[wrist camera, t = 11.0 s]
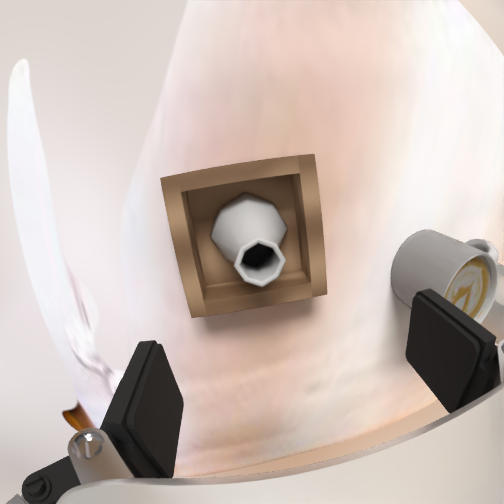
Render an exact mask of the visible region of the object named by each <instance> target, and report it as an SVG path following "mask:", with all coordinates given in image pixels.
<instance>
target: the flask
mask: <svg viewBox="0 0 504 504" xmlns="http://www.w3.org/2000/svg"><path fill="white" fill-rule="evenodd" d="M287 228H288V226H287V224H286V223H285V221H284V219H283V218H282V216H281V214H280V213H279V211H278V209H277V208H276V206H275V205H274V203H273V202H271V201H269V200H266V199H264V198H261V197H258V196H256V195H253V194H250V193H248V192H243V193H242V194H240V195H239V196H237V197H235V198H234V199H232V200H231V201H229V202H228V203H226V204H224V205H223V206H221V207H220V208H219V210H218V213H217V215H216V218H215V221H214V224H213V226H212V229H211V232H210V235H209V236H210V237H211V239H212V240H213V242H214V243H215V245H216V246H217V248H218V249H219V251H220V252H221V253H222V255H223V256H224V258H225V259H226V260H229V261H232V262H235V263H234V267H235V268H236V270H237V271H238V273H239V274H240V275H241V277H242V278H243V280H244V281H245V282H248V283H251V284H254V285H257V286H260V287H263V286H265V285H267V284H268V283H270V282H272V281H273V280H275V279H277V278H278V277H279V275H280V273H281V271H282V268H283V266H284V264H285V261H286V259H285V257H284V256H283V254H282V252H281V251H280V249H279V247H280V245H281V242H282V240H283V238H284V235H285V233H286V230H287Z"/></svg>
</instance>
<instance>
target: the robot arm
mask: <svg viewBox="0 0 504 504" xmlns="http://www.w3.org/2000/svg"><path fill="white" fill-rule="evenodd" d="M496 264H497V268H498V275H499V278H498V287H497V293H496V296H495V299H494V302H493V304H492V306H491V308H490V310H489V312H488V314H487V316H486V317H485V319H484V320H483V322H482V323H481V324H479V323H478V322H477V321H475V320H474V319H473V318H471V317H470V316H469V315H467V314H466V313H465V312H463V311H462V310H460V309H459V308H458V307H456V306H455V305H454V304H452V303H451V302H449V301H448V300H447V299H445V298H444V297H442V296H441V295H440V294H438V293H437V292H435V291H434V290H432V289H431V288H428V289H425V290H421V291H418V292H417V293H416V295H415V296H414V297H413V300H412V309H411V318H410V326H409V334H408V341H407V347H406V359H407V361H408V362H409V363H410V365H411V366H412V367H413V368H414V369H415V371H416V372H417V373H418V374H419V376H420V377H421V378H422V379H423V381H424V382H425V383H426V384H427V386H428V387H429V388H430V389H431V391H432V392H433V393H434V394H435V396H436V397H437V398H438V400H439V401H440V402H441V403H442V405H443V406H444V407H445V409H446V410H447V411H448V412H449V413H450V414H449V415H447V416H445V417H443V418H441V419H439V420H437V421H435V422H433V423H431V424H428V425H426V426H424V427H422V428H420V429H417V430H415V431H413V432H410V433H408V434H406V435H403V436H401V437H398V438H396V439H393V440H391V441H388V442H385V443H382V444H379V445H377V446H374V447H371V448H368V449H365V450H362V451H359V452H356V453H352V454H349V455H345V456H342V457H338V458H334V459H331V460H327V461H323V462H318V463H314V464H310V465H305V466H300V467H295V468H290V469H284V470H279V471H272V472H265V473H258V474H250V475H240V476H228V477H213V478H189V479H188V478H186V479H185V478H180V479H179V478H175V479H174V478H172V477H173V475H174V467H175V460H176V453H177V446H178V439H179V432H180V426H181V419H182V413H183V407H184V402H183V398H182V395H181V393H180V390H179V388H178V385H177V383H176V380H175V378H174V375H173V373H172V370H171V368H170V365H169V362H168V360H167V357H166V354H165V351H164V349H163V346H162V345H161V344H157V342H156V341H155V340H152V341H141V342H139V343H138V345H137V347H136V350H135V352H134V354H133V356H132V358H131V360H130V362H129V365H128V367H127V369H126V371H125V373H124V376H123V378H122V379H121V381H120V383H119V385H118V387H117V390H116V392H115V394H114V396H113V399H112V401H111V403H110V406H109V408H108V410H107V413H106V415H105V417H104V420H103V422H102V425H101V427H100V429H97V428H87V429H84V430H81V431H79V432H78V433H76V434H75V435H74V436H73V437H72V438H71V440H70V441H69V444H68V453H69V456H67V457H65V458H63V459H61V460H59V461H57V462H55V463H53V464H51V465H49V466H47V467H45V468H43V469H41V470H38V471H36V472H34V473H32V474H31V475H29V476H28V477H27V478H26V479H25V480H24V482H23V485H22V496H20V495H18V494H16V495H15V496H14V497H13V498H12V499H11V500H10V501H8V502H7V503H6V504H504V266H503V265H502V264H500V263H496ZM495 342H496V343H497V344H498V347H497V346H496V345H495Z"/></svg>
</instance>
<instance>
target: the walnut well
mask: <svg viewBox="0 0 504 504" xmlns="http://www.w3.org/2000/svg"><path fill="white" fill-rule="evenodd" d="M160 179H161V185H162V190H163V196H164V201H165V206H166V211H167V216H168V221H169V226H170V231H171V235H172V240H173V245H174V249H175V253H176V258H177V262H178V266H179V270H180V275H181V279H182V283H183V287H184V291H185V295H186V298H187V302H188V306H189V310H190V313H191V317H192V318H196V317H203V316H210V315H216V314H223V313H229V312H235V311H241V310H247V309H253V308H259V307H264V306H270V305H275V304H281V303H286V302H291V301H297V300H302V299H307V298H312V297H317V296H321V295H326V294H327V279H326V262H325V249H324V236H323V225H322V214H321V204H320V195H319V186H318V178H317V170H316V162H315V155H314V154H308V155H298V156H289V157H281V158H273V159H265V160H258V161H251V162H244V163H237V164H231V165H225V166H219V167H213V168H208V169H202V170H197V171H192V172H187V173H182V174H177V175H172V176H167V177H163V178H160ZM243 192H248V193H250V194H253V195H256V196H258V197H261V198H264V199H266V200H269V201H271V202H273V203H274V205H275V206H276V208H277V209H278V211H279V213H280V214H281V216H282V218H283V219H284V221H285V223H286V224H287V226H288V228H287V230H286V233H285V235H284V238H283V240H282V242H281V245H280V247H279V249H280V251H281V252H282V254H283V256H284V257H285V259H286V261H285V264H284V266H283V268H282V271H281V273H280V275H279V277H278V278H277V279H275V280H273V281H272V282H270V283H268V284H267V285H265V286H263V287H260V286H257V285H254V284H251V283H248V282H245V281H244V280H243V278H242V277H241V275H240V274H239V273H238V271H237V270H236V268H235V267H234V263H235V262H232V261H229V260H226V259H225V258H224V256H223V255H222V253H221V252H220V251H219V249H218V248H217V246H216V245H215V243H214V242H213V240H212V239H211V237H210V236H209V235H210V232H211V229H212V226H213V224H214V221H215V218H216V215H217V213H218V210H219V208H220V207H221V206H223V205H224V204H226V203H228V202H229V201H231V200H232V199H234V198H235V197H237V196H239V195H240V194H242V193H243Z"/></svg>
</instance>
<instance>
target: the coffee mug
mask: <svg viewBox="0 0 504 504" xmlns="http://www.w3.org/2000/svg"><path fill="white" fill-rule="evenodd" d="M497 261H498V250H497V248H496V247H495V245H494V244H492V243H491V242H489V241H486V240H482V239H473V240H470V241H467V242H466V243H463V242H460V241H458V240H456V239H453V238H451V237H448V236H446V235H443V234H441V233H438V232H435V231H433V230H422V231H418V232H416V233H414V234H413V235H411V236H410V237H409V238H408V239H406V241H405V242H404V243H403V244H402V245H401V247H400V248H399V250H398V252H397V254H396V256H395V258H394V261H393V265H392V269H391V284H392V288H393V291H394V293H395V294H396V296H397V297H398V298H399V299H400V300H401V301H402V302H404V303H405V304H406V305H407V306H408V307H410V308H411V309H412V300H413V297H414V296H415V295H416V293H417V292H418V291H421V290H425V289H428V288H431V289H432V290H434V291H435V292H437V293H438V294H440V295H441V296H442V297H444V298H445V299H447V300H448V301H449V302H451V303H452V304H454V305H455V306H456V307H458V308H459V309H460V310H462V311H463V312H465V313H466V314H467V315H469V316H470V317H471V318H473V319H474V320H475V321H477V322H478V323H479V324H481V323H482V322H483V320H484V319H485V317H486V316H487V314H488V312H489V310H490V308H491V306H492V304H493V302H494V299H495V296H496V293H497V287H498V278H499V275H498V268H497V264H496V263H497Z"/></svg>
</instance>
